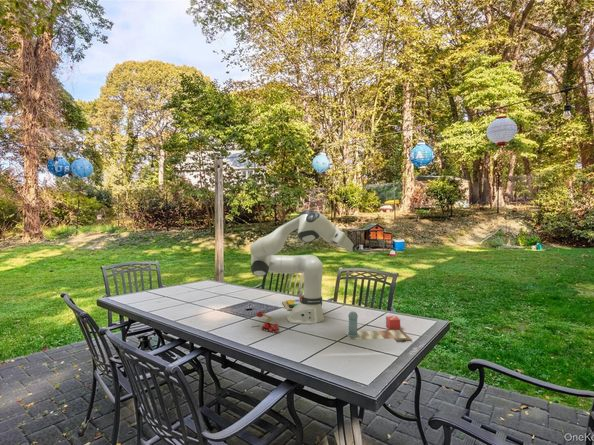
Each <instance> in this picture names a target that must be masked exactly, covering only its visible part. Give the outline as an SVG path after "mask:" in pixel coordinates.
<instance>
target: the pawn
mask: <svg viewBox="0 0 594 445" xmlns="http://www.w3.org/2000/svg"><path fill="white" fill-rule="evenodd" d="M347 317H348V332H349V333H348V336H349V337H358V336H359V335H358V333H357V331H358V313H357V312H356V311H349V313H348V316H347ZM348 336H347V337H348ZM349 337H348V338H349Z"/></svg>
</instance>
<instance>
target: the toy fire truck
mask: <svg viewBox="0 0 594 445" xmlns="http://www.w3.org/2000/svg"><path fill="white" fill-rule="evenodd" d="M256 317H258V318H263V317H265V318H266V320H265V322H264V324H263V325H262V326H261V330H263V331H264V332H265V331H266V332H271V333H273V334H277V333H279V332H280V327H279V326H280V325H279V324H278V323H277V322H275V323H273V324H272V323H270V322H271V320H272V319H273V318H272V316H271V315H268V314H266V313H265V312H264V311H259V312H258V313H256Z"/></svg>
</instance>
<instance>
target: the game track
mask: <svg viewBox="0 0 594 445" xmlns="http://www.w3.org/2000/svg"><path fill="white" fill-rule="evenodd" d="M345 333H346V335H347V338H348V339H349V341H352V340H356V341H357V340H386V339H387V340H388V339H390V340H391V339H392V340H394V341H395V342H396V343H407V342H406V341H413V340H412V338H411V337H410V336H409V335H408V334H407V333H406V332H405V331H404V330H403V329H401V328H400V330H389V329H386V330H367V331H366V330H361V331H359V330H357V333H358V337H349V336H348V333H349V331H345Z"/></svg>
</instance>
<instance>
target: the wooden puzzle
mask: <svg viewBox="0 0 594 445" xmlns="http://www.w3.org/2000/svg"><path fill="white" fill-rule="evenodd" d="M281 303H282V305H283V306H284V309H286V311H289V312H290V311H292V309H293V307H295V306H296V305H297V304H299V303H300V299H299V298H298V299H288V300H285V301H281Z"/></svg>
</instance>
